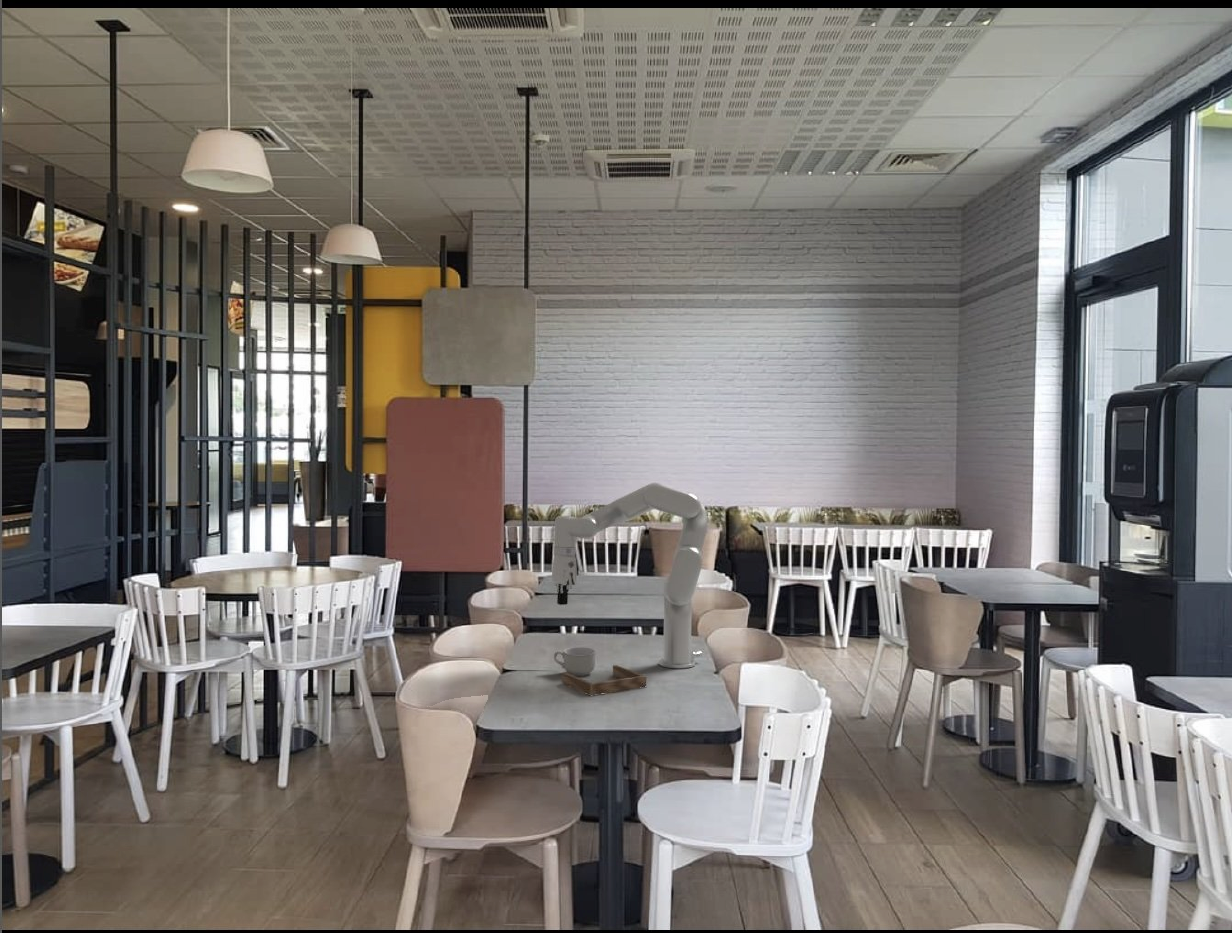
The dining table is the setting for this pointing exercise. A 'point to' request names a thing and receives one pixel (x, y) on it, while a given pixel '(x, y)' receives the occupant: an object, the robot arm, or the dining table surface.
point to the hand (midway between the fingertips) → (562, 604)
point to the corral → (607, 682)
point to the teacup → (577, 660)
